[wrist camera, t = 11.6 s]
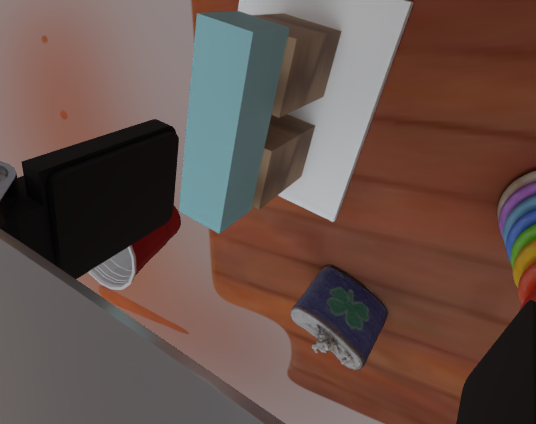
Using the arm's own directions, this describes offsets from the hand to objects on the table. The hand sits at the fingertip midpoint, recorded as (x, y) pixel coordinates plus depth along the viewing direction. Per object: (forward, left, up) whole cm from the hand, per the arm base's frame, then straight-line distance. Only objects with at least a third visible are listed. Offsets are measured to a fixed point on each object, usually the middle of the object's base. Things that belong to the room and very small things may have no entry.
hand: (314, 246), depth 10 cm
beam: (+7, -14, -20) cm, 26 cm away
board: (+7, -14, -30) cm, 34 cm away
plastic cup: (+30, -30, -31) cm, 52 cm away
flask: (+26, -1, -31) cm, 40 cm away
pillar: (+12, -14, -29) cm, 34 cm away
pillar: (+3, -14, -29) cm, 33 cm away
